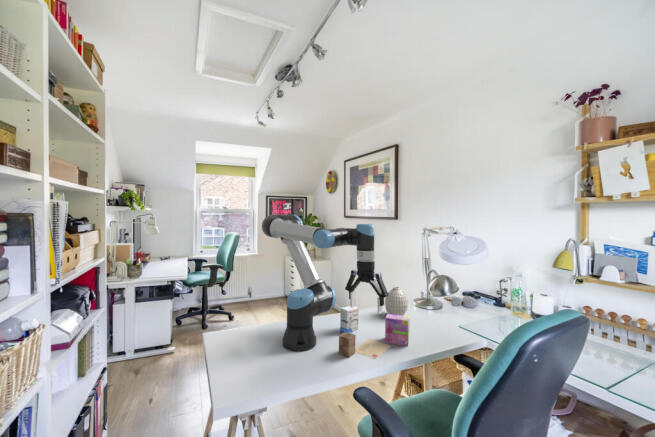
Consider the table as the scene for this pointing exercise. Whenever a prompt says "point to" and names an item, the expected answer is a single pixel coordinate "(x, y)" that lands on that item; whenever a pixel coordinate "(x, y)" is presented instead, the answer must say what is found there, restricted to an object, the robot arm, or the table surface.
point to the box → (397, 329)
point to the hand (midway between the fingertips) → (366, 310)
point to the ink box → (349, 319)
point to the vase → (396, 302)
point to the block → (347, 344)
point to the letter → (372, 348)
